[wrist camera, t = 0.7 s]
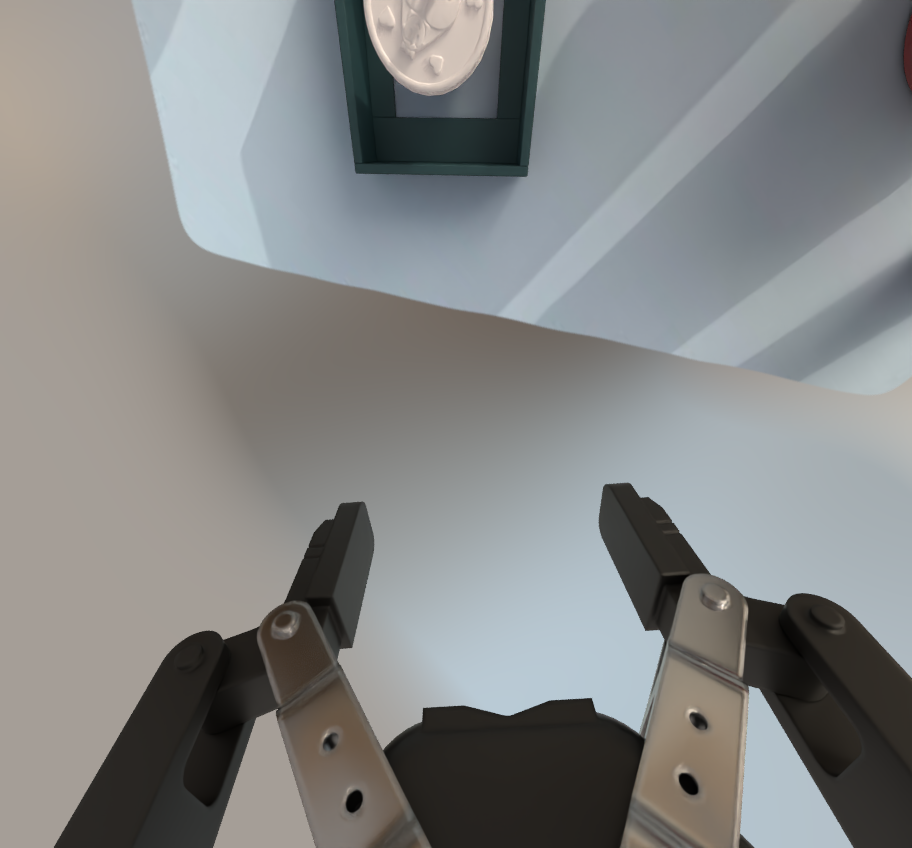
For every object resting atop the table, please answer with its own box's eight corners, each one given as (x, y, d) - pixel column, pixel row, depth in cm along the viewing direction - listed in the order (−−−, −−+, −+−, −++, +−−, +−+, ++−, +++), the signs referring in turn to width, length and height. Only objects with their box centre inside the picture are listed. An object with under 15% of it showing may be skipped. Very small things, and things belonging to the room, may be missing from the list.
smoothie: (512, 28, 25) (529, -64, 14) (457, 129, 28) (437, 120, 17) (431, -54, 23) (376, -238, 12) (383, 64, 27) (306, 7, 15)
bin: (341, -124, 22) (311, -177, 18) (552, -129, 21) (565, -185, 18) (371, 169, 30) (355, 173, 27) (522, 172, 30) (527, 176, 26)
